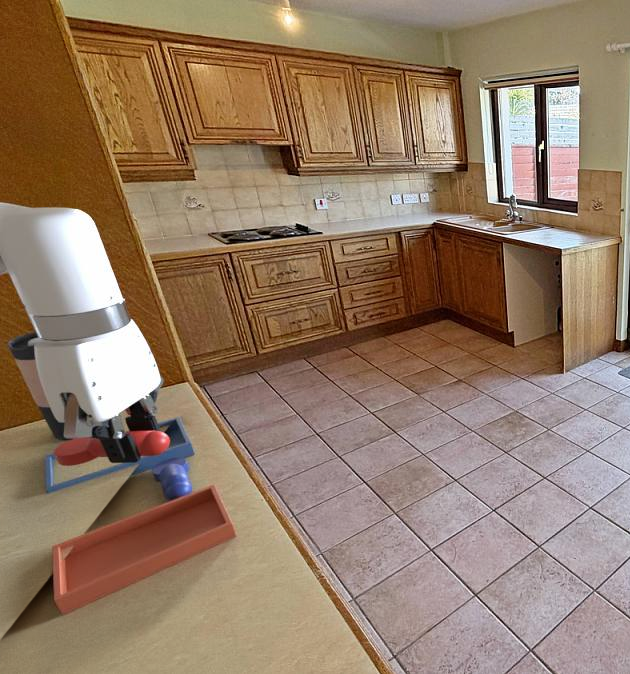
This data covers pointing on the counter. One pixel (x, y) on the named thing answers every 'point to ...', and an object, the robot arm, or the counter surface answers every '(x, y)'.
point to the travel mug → (36, 379)
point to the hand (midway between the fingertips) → (137, 450)
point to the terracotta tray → (138, 547)
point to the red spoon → (92, 449)
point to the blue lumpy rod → (173, 477)
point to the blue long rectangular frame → (176, 449)
